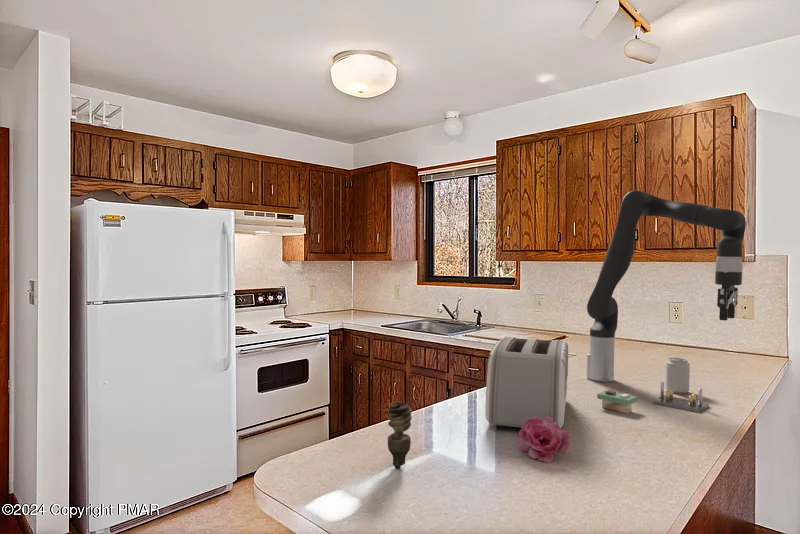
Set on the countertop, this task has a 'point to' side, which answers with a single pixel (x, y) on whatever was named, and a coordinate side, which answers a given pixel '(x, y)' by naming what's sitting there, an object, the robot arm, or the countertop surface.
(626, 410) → the beige wooden block
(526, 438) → the flower
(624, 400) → the board
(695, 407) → the chassis
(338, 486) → the countertop surface
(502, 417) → the toaster
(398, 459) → the light bulb
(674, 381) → the can
